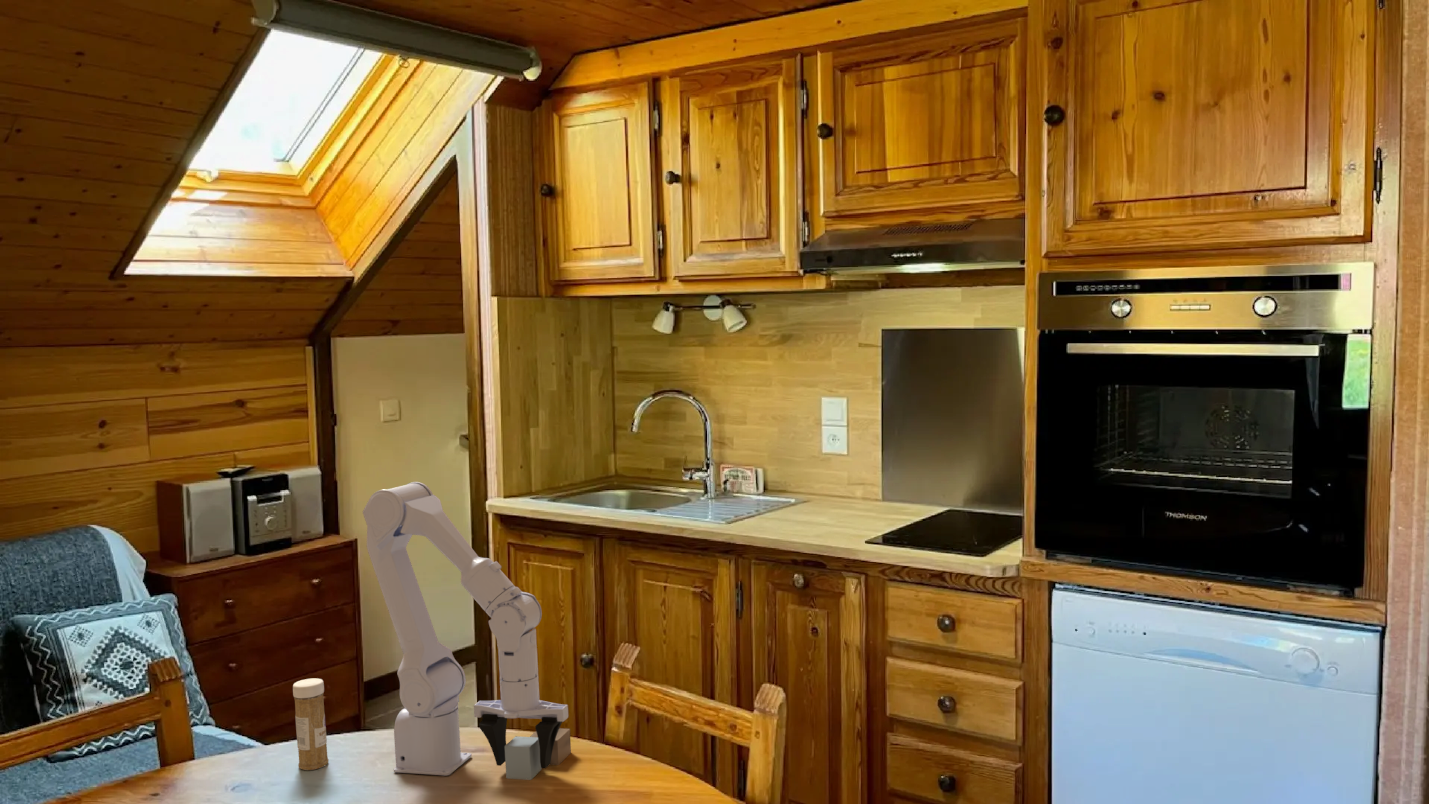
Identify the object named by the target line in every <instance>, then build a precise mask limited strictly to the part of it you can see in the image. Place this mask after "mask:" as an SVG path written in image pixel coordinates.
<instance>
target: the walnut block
mask: <svg viewBox="0 0 1429 804" xmlns="http://www.w3.org/2000/svg"><path fill="white" fill-rule="evenodd" d="M529 737H538V736H537V732H536V731H534V732H533V733H532V734H531V735H530V736H529ZM571 745H572V744H571V728H561V727H560V728H559V730H558V733H557V736H556V739H555V742H554V746H553V750H552V756H551V764H550V765H551V766H552V765H553V766H559V765H560V764H561V763H562V762H563V761H565V759H566V758H567V757H568V756H569V755H570V754H571V753H572V746H571ZM550 765H549V766H550Z"/></svg>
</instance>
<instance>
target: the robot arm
mask: <svg viewBox="0 0 1429 804" xmlns="http://www.w3.org/2000/svg"><path fill="white" fill-rule="evenodd" d="M362 515H363V518H364V521H365V524H366V526H367V527H366V549H367V553H368V555H369V560H370V562H371V564H372V567H373V570H374V574H375V577H376V579H377V582H378V585H379V588H380V590H381V593H382V596H383V600H384V602H385V605H386V607H387V608H386V609H387V611H388V614H389V616H390V619H391V622H392V626H393V629H394V631H395V633H396V638H397V640H398V642H399V646H400V648H401V651H402V654H403V656H402V659H401V662H400V664H399V667H398V669H397V672H396V673H397V677H398V680H399V700H400V701H401V704H402V706H403V707H404V708H402V709H401V710H400V711H399V713H398V714H397V716H396V718H395V722H394V728H393V738H394V739H393V740H394V754H395V767H394V768H393V772H394V773H401V774H402V773H403V774H417V775H418V774H419V775H433V776H450V775H452V774H453V772H455V771H456V770H457V769H458V768H459V767H461V766H462V765H463V764H464V763H466V762H467V761H468V760H469V759H471V757H472V754H473V753H471V752H462V750H461V736H460V735H461V734H460V733H461V731H460V717H459V716H460V715H459V703H460V695H461V694H462V692H463V691H464V689H465V686H466V682H467V681H466V680H467V677H466V674H465V671H464V669H463V667H462V666H461V664H459V662H458V661H457V660H456V659H455V657H454V655H453V652H452V649H451V648H449V647H448V646H446V645H444V644H442V643H441V642H439V640H438V637H437V634H436V632H435V628H434V625H433V622H432V620H431V617H430V614H429V611H428V608H427V605H426V602H425V600H424V597H423V593H422V591H421V588H420V585H419V583H418V580H417V576H416V574H415V571H414V567H413V565H412V563H411V562H412V561H411V559H410V555H409V553H408V551H407V546H408V544H409V542H410V540H411V539H412V537H413V536H421V537H425V538H426V539H428V541H429V542H430V543H432V545H433V546H434V547H436V549H437V550H438V551H440V553H442V554H443V556H444V557H445V558H447V560H448V561H449V562H450V563H452V565H453V566H455V568H456V569H457V570H458V571H460V577H461V578H460V585H461V586H462V587H463V588H464V589H465V590H466V591H467V593H469V595H470V596H471V597H472V598H473V599H474V601H476V603H477V604H478V605H479V606H480V608H481V609H482V610H483V611H484V612H485V613H486V614H487V615H488V616H489V618H491V619H489V620H488V625H489V629H490V631H491V633H492V634H493V636H494V637H495V639H496V645H497V649H498V651H497V652H498V667H499V668H498V669H499V686H500V688H499V690H500V699H495V700H478V702H476V703H475V704H473V713H474V714H473V715H474V718H482V719H481V721H480V722H479V724H478V726H479V730H480V731H481V732H482V733H483V735H484V737H485V738H486V739H487V742H488V743H489V745H490V748H491V752H492V754H493V757H494V760H495V764H496V766H502V765H503V764H504V763H505V745H506V744H507V739H506V738H507V723H508V719H518V718H519V719H536V720H537V719H539V720H541V721H539V722H538V723H537V724H536V725H535V732H537V736H538V740H539V746H540V764H541V768H542V769H546V768H548V767H549V766H550V764H551V756H552V750H553V746H554V742H555V739H556V736H557V733H558V730H559V728H561V725H562V723H563V722H565V721H566V720H567V719H568V718H569V705H568V704H563V703H562V704H561V703H556V702H550V701H545V700H541V699H540V684H539V665H538V664H539V663H538V648H537V647H538V646H537V645H538V644H537V628H536V627H537V626H538V625H540V622H541V620H542V615H543V613H542V612H543V611H542V606H541V604H540V602H539V601H538V599H537V598H536V596H535V595H534V594H532V593H529V592H525V591H522V590H521V589H520V587H518V586H515V585H514V584H513V582H512V581H511V579H509V578H508V577H507V575H506V574H505V573H504V572H503V571H502V570H501V569H502V565H501V564H500V563H499V562H498V561H497V560H496V561H493V560H492V559H491V558H488V557H482V556H479V555H478V554H477V553H476V551H475V550H474V549H473V548H472V547H471V545H470V544H469V542H468V541H467V540H466V538H465V537H464V536H463V534H462V533H461V532H460V531H459V529H458V528H457V527H456V526H455V524H454V523H453V522H452V520H451V519H450V518H449V517H448V515H447V514H446V513H445V511H444V509H443V505H442V501H441V499H440V498H439V497H438V496H436V495H435V494H434V493H433V491H432V490H431V489H430V487H429V486H428V485H426V484H425V483H423V482H419V481H412V482H409V483H407V484H404V485H398V486H396V487H391V488H387V489H386V488H384V489H380V490H379V489H378V490H377V491H375V492H373V494H371V496H370V497H369V499H368V501H367V502H366V505H365V507H364V509H363V510H362Z"/></svg>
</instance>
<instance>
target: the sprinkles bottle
mask: <svg viewBox="0 0 1429 804" xmlns="http://www.w3.org/2000/svg"><path fill="white" fill-rule="evenodd" d="M324 692H325V684H324V680H323V679H322V678H318V677H317V678H306V679H301V680H298V681H296V682H294V683H293V685H292V696H293V699H294V709H295V715H294V716H295V717H294V718H295V730H296V745H297V750H298V768H299V769H300V770H304V771H313V770H318V769H321V768H323V767H325V766H327V765H328V764H329V758H328V746H327V742H328V741H327V739H328V738H327V727H326V726H327V725H326V714H325V705H324Z"/></svg>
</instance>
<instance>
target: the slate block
mask: <svg viewBox="0 0 1429 804" xmlns="http://www.w3.org/2000/svg"><path fill="white" fill-rule="evenodd" d="M504 763H505V776H506V777H505V779H512V780H525V781H526V780H528V781H531V780H533V778H534V777H536V775H537V774H539V773H540V771H542V769H543V768H541V764H540V746H539V740H538V737H530V736H516V735H515V736H514V737H513V738H512V739H511V740H510V741H509V742H508V743H507V742H506V745H505V762H504Z"/></svg>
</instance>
